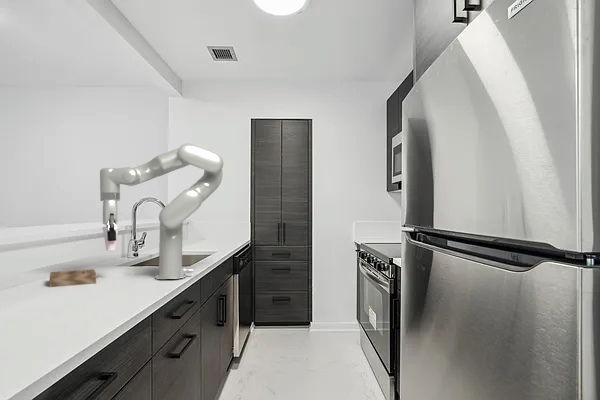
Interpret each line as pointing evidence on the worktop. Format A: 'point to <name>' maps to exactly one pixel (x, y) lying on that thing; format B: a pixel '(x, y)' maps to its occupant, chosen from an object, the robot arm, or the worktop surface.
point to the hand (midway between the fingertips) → (111, 239)
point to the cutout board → (72, 277)
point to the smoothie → (110, 244)
